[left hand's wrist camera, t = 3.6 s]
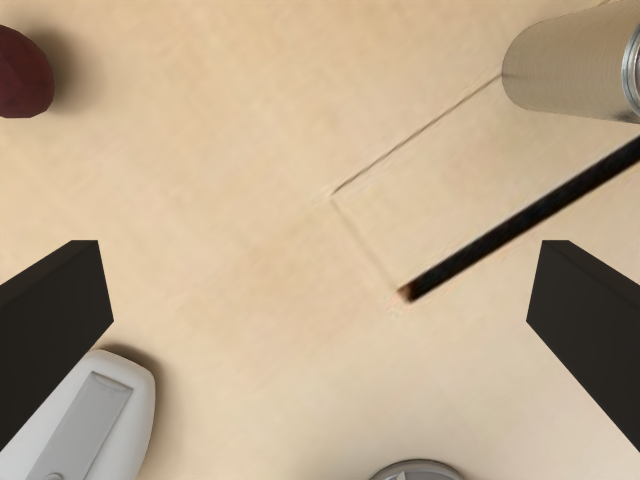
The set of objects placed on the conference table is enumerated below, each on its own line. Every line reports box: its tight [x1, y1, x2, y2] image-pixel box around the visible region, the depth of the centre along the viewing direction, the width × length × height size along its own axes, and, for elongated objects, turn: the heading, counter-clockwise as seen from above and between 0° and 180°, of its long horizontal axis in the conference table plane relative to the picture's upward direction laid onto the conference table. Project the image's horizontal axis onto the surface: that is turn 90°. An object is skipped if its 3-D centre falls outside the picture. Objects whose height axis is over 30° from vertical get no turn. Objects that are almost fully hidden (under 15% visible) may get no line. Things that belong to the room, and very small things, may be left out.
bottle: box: [502, 0, 640, 124], centre depth 29 cm, size 8×8×22 cm
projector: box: [0, 349, 155, 480], centre depth 47 cm, size 22×23×15 cm
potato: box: [0, 25, 54, 118], centre depth 35 cm, size 7×8×7 cm
